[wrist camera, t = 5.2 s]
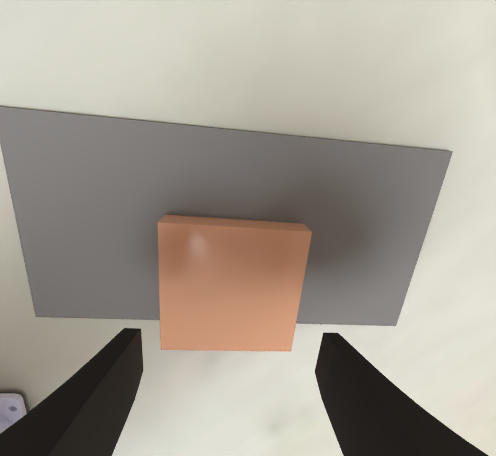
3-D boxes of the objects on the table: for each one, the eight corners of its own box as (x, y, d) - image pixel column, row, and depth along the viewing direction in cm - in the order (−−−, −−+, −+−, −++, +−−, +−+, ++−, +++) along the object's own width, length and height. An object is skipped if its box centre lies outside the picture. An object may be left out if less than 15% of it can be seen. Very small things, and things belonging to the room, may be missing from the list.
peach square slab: (290, 351, 16) (312, 231, 13) (160, 349, 15) (157, 222, 13) (285, 332, 17) (303, 222, 15) (167, 329, 17) (165, 213, 14)
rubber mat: (393, 323, 18) (395, 325, 18) (39, 313, 16) (36, 316, 16) (448, 151, 14) (452, 151, 14) (-2, 106, 12) (-8, 106, 12)
